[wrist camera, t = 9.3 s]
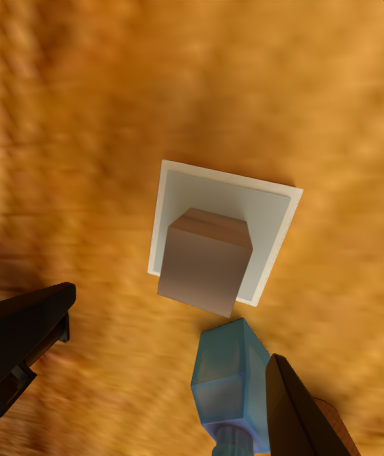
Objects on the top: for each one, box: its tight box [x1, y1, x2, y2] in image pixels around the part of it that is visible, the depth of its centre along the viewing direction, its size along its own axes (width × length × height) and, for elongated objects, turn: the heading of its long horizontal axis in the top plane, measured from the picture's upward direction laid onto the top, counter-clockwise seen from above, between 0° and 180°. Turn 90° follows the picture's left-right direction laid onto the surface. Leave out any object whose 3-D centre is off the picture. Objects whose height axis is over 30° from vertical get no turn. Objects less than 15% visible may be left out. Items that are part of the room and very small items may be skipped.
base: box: [147, 159, 304, 307], centre depth 18 cm, size 12×12×2 cm
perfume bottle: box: [191, 318, 271, 456], centre depth 17 cm, size 6×6×12 cm
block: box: [157, 208, 253, 318], centre depth 14 cm, size 5×5×6 cm
